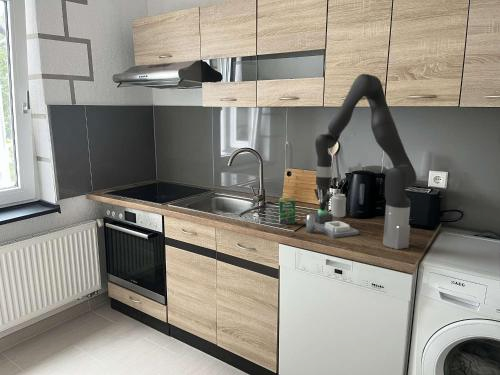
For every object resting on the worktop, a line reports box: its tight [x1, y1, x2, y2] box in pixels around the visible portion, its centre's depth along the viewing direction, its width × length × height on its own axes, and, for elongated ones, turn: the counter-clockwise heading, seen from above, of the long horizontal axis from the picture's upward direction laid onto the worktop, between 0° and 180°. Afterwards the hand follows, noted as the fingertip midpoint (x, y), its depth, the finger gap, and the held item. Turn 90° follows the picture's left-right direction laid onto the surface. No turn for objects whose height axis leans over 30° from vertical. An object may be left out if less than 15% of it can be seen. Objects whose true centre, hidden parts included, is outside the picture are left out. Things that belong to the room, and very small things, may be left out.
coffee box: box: [278, 197, 296, 225], centre depth 182 cm, size 8×3×13 cm, turn 91°
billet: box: [305, 213, 316, 234], centre depth 169 cm, size 4×4×8 cm
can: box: [330, 193, 347, 219], centre depth 196 cm, size 8×8×12 cm
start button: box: [317, 208, 328, 215], centre depth 182 cm, size 4×4×3 cm
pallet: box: [303, 211, 360, 239], centre depth 176 cm, size 26×14×6 cm, turn 22°
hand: (322, 209), depth 181 cm, fingers closed
